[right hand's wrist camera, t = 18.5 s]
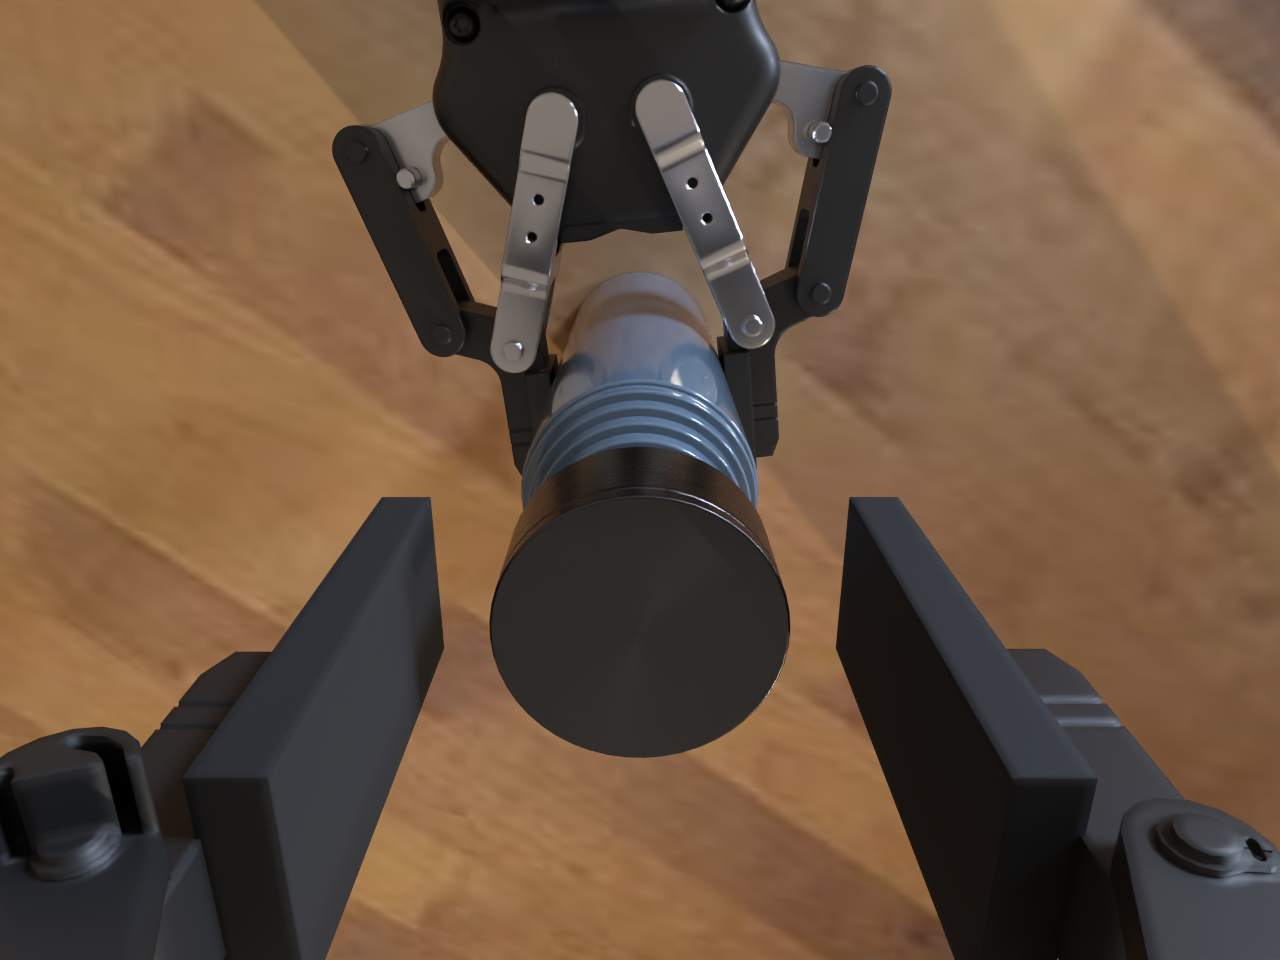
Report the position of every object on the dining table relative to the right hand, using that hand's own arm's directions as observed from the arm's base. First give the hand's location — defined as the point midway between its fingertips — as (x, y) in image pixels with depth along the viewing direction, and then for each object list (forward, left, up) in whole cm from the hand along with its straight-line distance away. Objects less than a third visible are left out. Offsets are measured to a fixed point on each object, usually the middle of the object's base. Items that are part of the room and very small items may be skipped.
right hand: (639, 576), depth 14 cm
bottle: (0, 0, -18) cm, 18 cm away
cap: (0, 0, +2) cm, 2 cm away
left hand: (+1, +2, -11) cm, 12 cm away
